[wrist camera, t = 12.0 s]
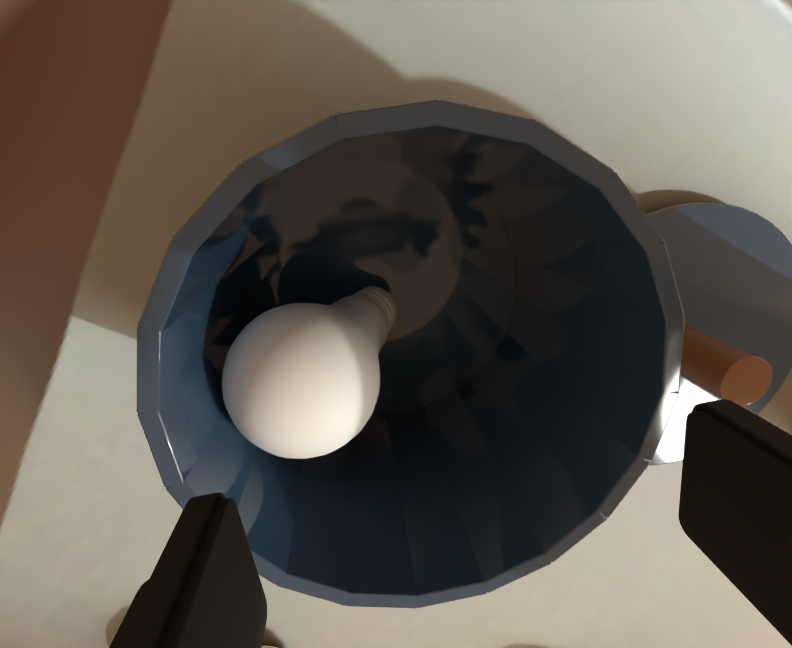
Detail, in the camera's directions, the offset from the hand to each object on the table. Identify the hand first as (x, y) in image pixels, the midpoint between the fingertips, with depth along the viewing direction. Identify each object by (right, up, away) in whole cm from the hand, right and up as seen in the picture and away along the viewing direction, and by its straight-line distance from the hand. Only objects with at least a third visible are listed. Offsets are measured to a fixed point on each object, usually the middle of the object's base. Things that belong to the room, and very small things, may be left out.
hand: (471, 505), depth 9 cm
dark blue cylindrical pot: (-2, +5, +16) cm, 17 cm away
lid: (+16, +2, +19) cm, 25 cm away
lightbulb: (-2, +5, +15) cm, 16 cm away
